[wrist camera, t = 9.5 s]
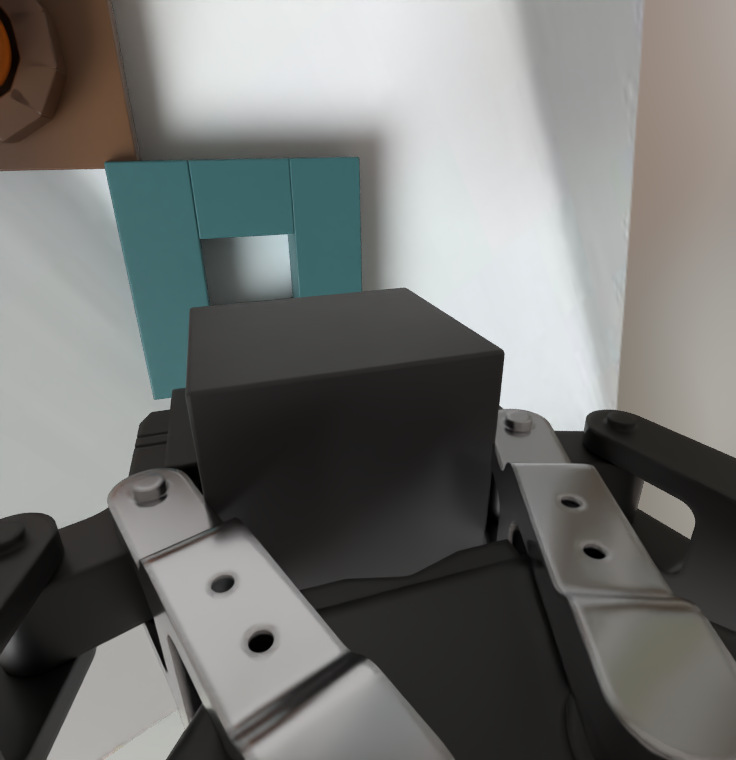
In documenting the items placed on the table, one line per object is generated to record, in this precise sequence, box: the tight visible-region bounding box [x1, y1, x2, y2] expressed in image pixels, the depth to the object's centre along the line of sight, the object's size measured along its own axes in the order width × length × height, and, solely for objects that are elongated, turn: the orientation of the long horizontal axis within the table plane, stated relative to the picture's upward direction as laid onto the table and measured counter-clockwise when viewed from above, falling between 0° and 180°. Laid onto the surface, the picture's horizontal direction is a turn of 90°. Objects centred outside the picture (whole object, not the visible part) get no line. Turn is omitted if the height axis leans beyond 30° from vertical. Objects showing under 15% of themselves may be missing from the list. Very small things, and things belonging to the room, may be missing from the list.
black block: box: [185, 288, 504, 590], centre depth 12 cm, size 5×6×7 cm
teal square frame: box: [104, 157, 362, 400], centre depth 27 cm, size 12×12×2 cm
